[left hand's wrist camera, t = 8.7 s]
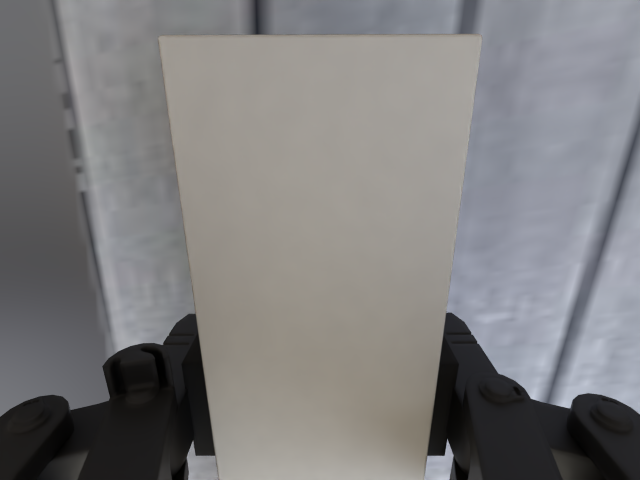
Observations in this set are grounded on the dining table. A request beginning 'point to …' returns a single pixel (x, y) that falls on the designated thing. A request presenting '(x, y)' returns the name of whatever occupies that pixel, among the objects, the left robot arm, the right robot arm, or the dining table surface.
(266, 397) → the beam
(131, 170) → the dining table surface
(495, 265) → the dining table surface
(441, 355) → the left robot arm
